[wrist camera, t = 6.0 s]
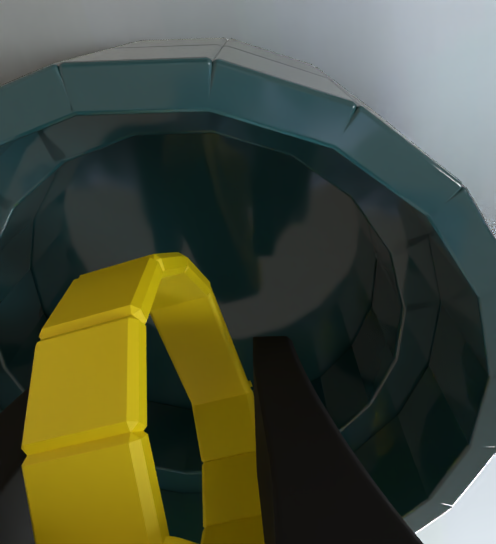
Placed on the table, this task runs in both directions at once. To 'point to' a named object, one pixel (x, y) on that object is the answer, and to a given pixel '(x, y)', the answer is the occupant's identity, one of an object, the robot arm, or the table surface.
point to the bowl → (259, 249)
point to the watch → (135, 410)
